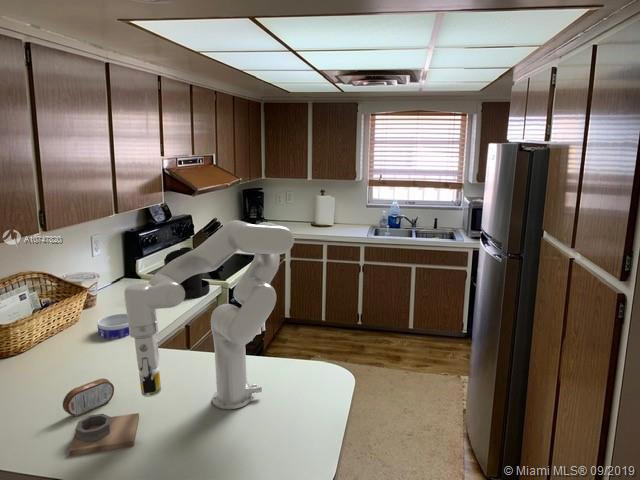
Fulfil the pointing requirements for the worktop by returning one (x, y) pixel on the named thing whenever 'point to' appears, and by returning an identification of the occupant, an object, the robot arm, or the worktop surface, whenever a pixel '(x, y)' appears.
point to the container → (192, 284)
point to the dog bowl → (113, 326)
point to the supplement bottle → (157, 383)
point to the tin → (88, 397)
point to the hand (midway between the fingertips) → (151, 386)
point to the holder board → (112, 439)
